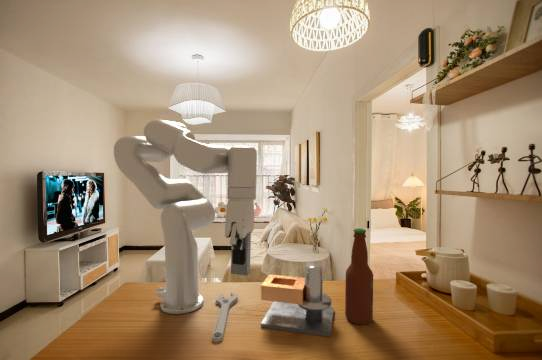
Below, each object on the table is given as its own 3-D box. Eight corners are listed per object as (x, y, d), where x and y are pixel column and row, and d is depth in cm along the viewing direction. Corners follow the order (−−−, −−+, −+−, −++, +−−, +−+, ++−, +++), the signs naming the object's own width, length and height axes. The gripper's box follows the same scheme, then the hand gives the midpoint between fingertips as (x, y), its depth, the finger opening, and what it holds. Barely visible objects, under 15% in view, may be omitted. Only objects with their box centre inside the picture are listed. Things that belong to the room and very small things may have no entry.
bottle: (378, 321, 81) (379, 230, 80) (359, 328, 77) (360, 233, 76) (358, 310, 87) (359, 225, 86) (339, 316, 84) (340, 228, 83)
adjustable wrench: (222, 344, 72) (222, 337, 72) (196, 343, 72) (196, 336, 72) (239, 297, 97) (238, 292, 97) (219, 297, 97) (219, 292, 97)
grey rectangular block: (230, 273, 79) (231, 232, 78) (234, 270, 81) (235, 230, 80) (246, 275, 78) (247, 234, 77) (250, 272, 80) (250, 231, 79)
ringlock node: (258, 326, 78) (257, 270, 78) (271, 303, 92) (271, 255, 91) (330, 337, 74) (330, 277, 73) (333, 310, 87) (334, 260, 86)
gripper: (239, 190, 87) (238, 252, 88) (215, 195, 71) (214, 271, 72) (264, 191, 85) (262, 254, 86) (244, 197, 69) (243, 274, 70)
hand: (240, 261), depth 79 cm, fingers closed on grey rectangular block, 2 cm apart
